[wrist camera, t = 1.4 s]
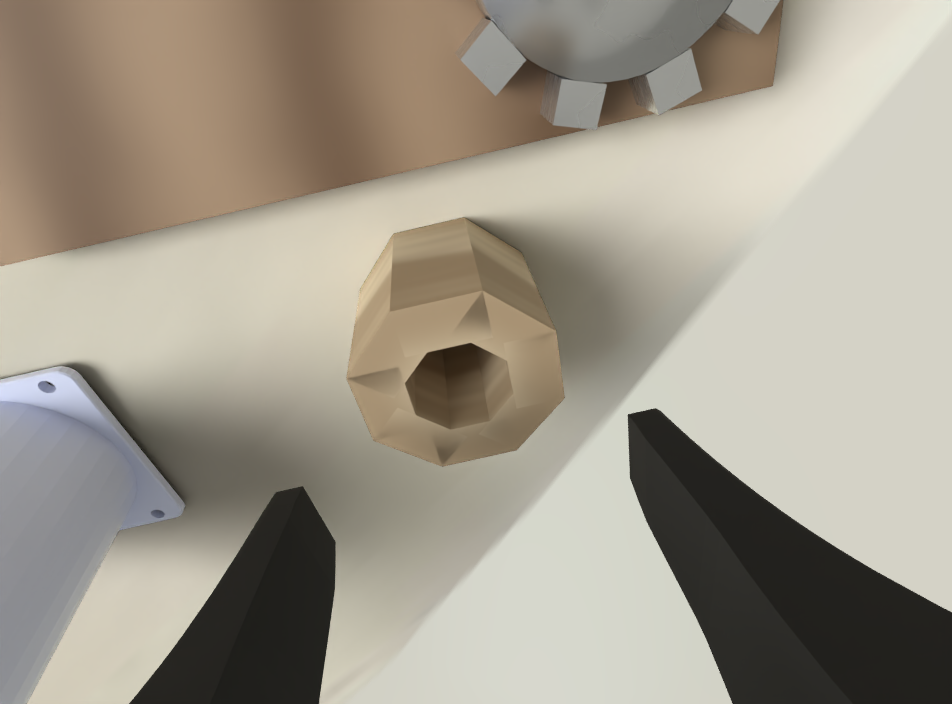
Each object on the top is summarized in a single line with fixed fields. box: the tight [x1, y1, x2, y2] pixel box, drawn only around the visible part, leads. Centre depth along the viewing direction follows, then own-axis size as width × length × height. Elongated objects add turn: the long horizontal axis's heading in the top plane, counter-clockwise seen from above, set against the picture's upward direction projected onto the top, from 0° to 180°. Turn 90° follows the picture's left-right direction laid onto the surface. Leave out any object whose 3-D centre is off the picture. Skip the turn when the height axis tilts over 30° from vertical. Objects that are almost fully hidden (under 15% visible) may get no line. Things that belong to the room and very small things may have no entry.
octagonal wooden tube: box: [347, 218, 565, 467], centre depth 16 cm, size 6×6×5 cm
